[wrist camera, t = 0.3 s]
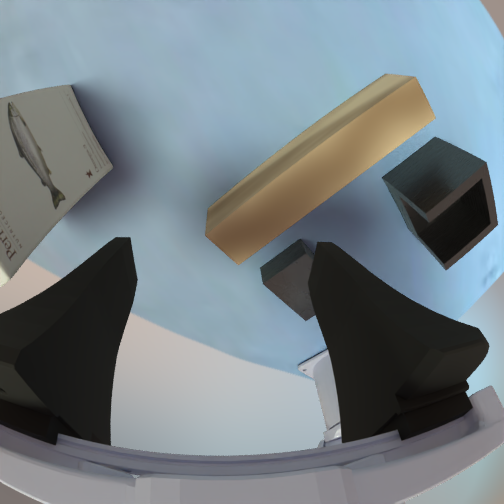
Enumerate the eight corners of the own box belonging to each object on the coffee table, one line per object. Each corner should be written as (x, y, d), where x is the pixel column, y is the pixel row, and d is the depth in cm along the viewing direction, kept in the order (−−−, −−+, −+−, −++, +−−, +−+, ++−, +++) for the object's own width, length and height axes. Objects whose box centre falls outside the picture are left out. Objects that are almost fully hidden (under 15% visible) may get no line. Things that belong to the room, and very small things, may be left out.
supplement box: (117, 167, 18) (15, 288, 7) (49, 211, 19) (-40, 325, 8) (73, 80, 14) (-76, 119, 3) (8, 137, 15) (-109, 215, 4)
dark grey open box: (455, 191, 21) (498, 224, 16) (408, 229, 23) (445, 270, 18) (435, 136, 18) (486, 162, 13) (382, 177, 20) (425, 213, 15)
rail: (403, 107, 17) (435, 118, 14) (235, 233, 22) (238, 265, 19) (383, 73, 16) (415, 76, 12) (208, 207, 21) (204, 235, 17)
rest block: (337, 281, 25) (344, 296, 24) (301, 305, 26) (305, 321, 25) (300, 238, 22) (306, 253, 21) (260, 267, 24) (263, 283, 22)
